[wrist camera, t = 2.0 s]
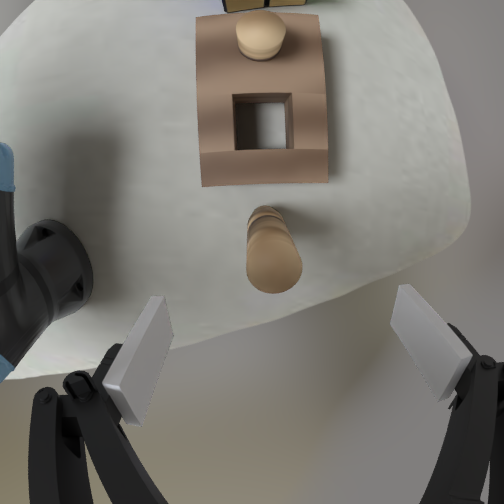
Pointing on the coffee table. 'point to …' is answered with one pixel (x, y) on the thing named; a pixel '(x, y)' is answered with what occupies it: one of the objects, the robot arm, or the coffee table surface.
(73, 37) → the coffee table surface
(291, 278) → the leg
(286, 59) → the wooden peg block
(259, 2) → the puzzle cube
